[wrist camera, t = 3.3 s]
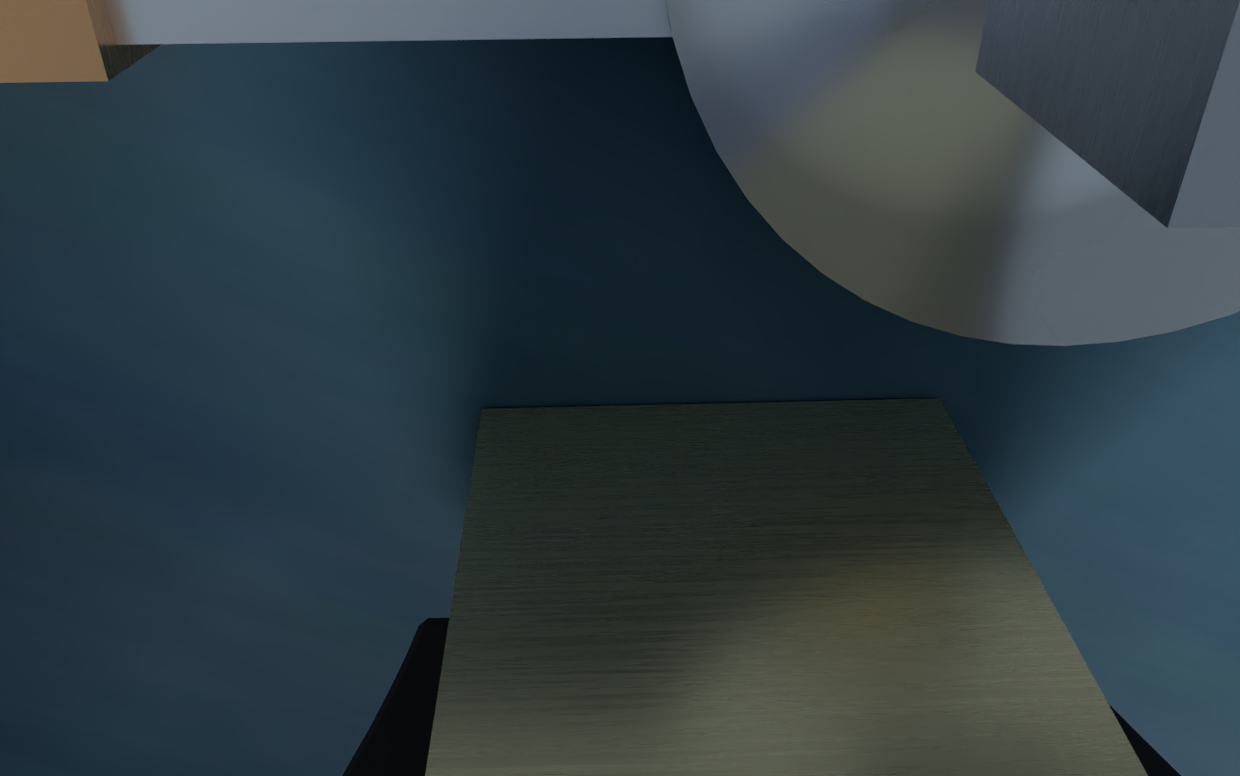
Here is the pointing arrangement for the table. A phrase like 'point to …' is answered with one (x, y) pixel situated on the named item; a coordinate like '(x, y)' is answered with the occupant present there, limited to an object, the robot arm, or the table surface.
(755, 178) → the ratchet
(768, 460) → the brushed metal cube
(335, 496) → the table surface
